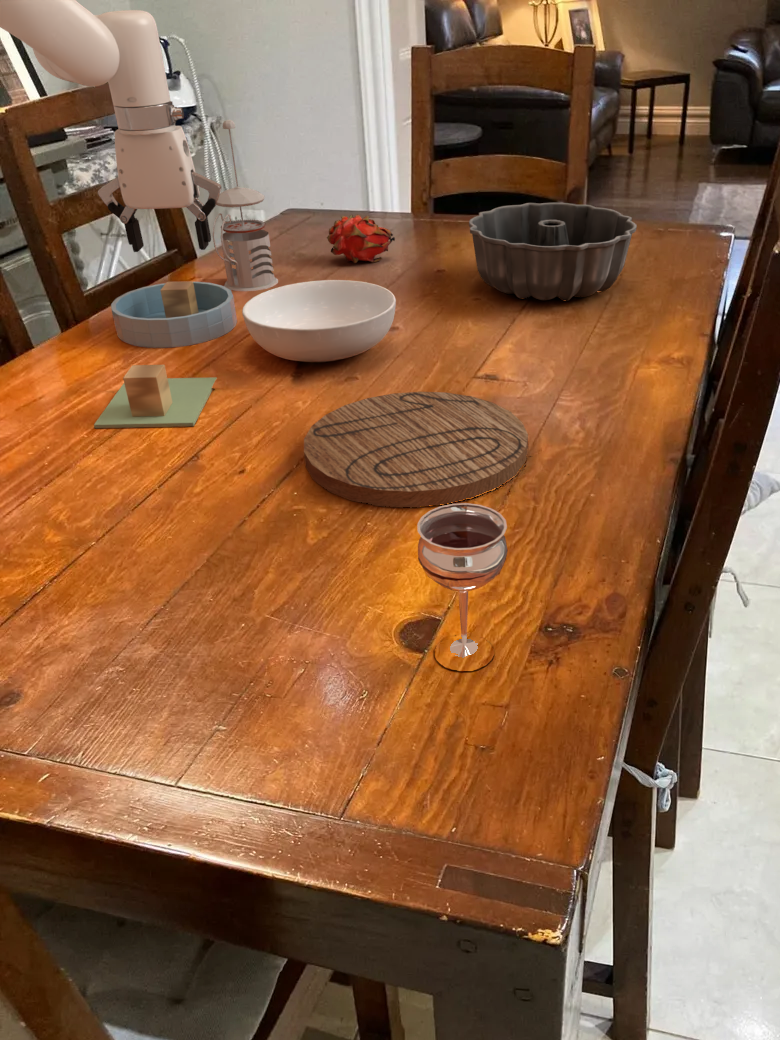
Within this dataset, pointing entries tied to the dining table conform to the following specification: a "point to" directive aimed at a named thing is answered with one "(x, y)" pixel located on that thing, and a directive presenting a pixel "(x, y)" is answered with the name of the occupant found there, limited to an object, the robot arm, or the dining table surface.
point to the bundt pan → (551, 249)
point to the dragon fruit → (359, 238)
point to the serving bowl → (320, 319)
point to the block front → (148, 390)
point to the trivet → (415, 449)
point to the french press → (244, 240)
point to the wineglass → (462, 554)
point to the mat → (182, 412)
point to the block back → (179, 299)
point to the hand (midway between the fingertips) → (171, 248)
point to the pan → (149, 327)
